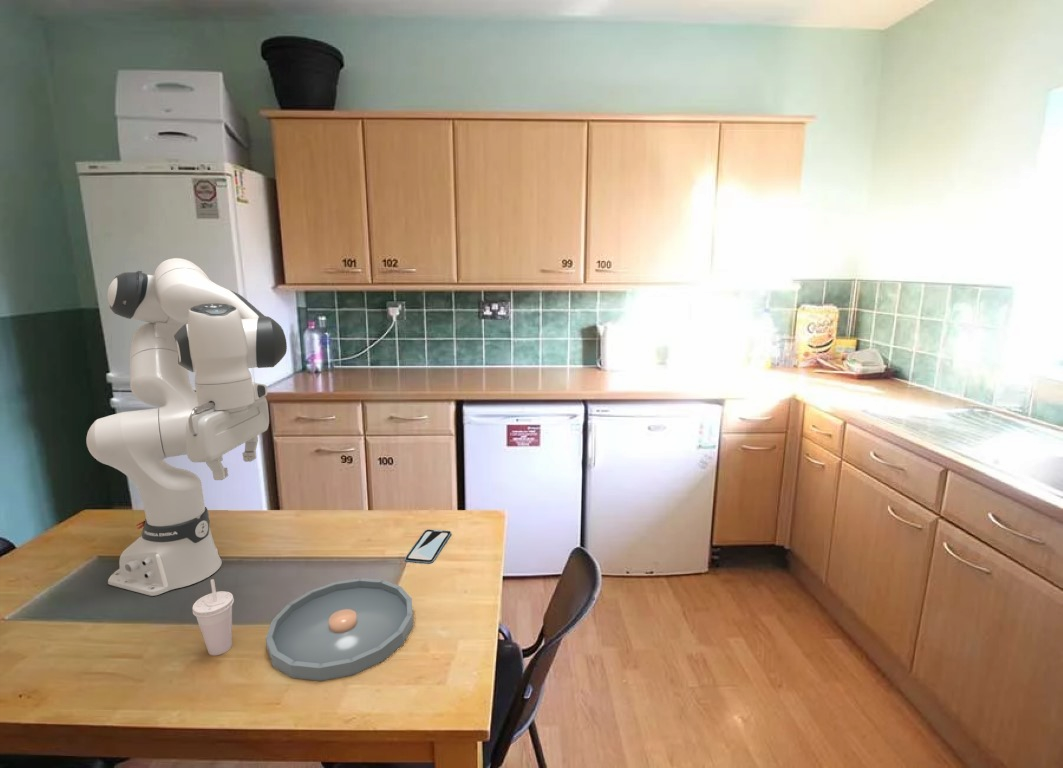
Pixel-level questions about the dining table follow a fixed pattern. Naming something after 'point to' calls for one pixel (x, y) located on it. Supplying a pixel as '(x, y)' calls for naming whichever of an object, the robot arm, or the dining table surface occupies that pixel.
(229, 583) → the dining table surface
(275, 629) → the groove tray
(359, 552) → the dining table surface
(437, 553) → the smartphone
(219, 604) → the smoothie
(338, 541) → the dining table surface
